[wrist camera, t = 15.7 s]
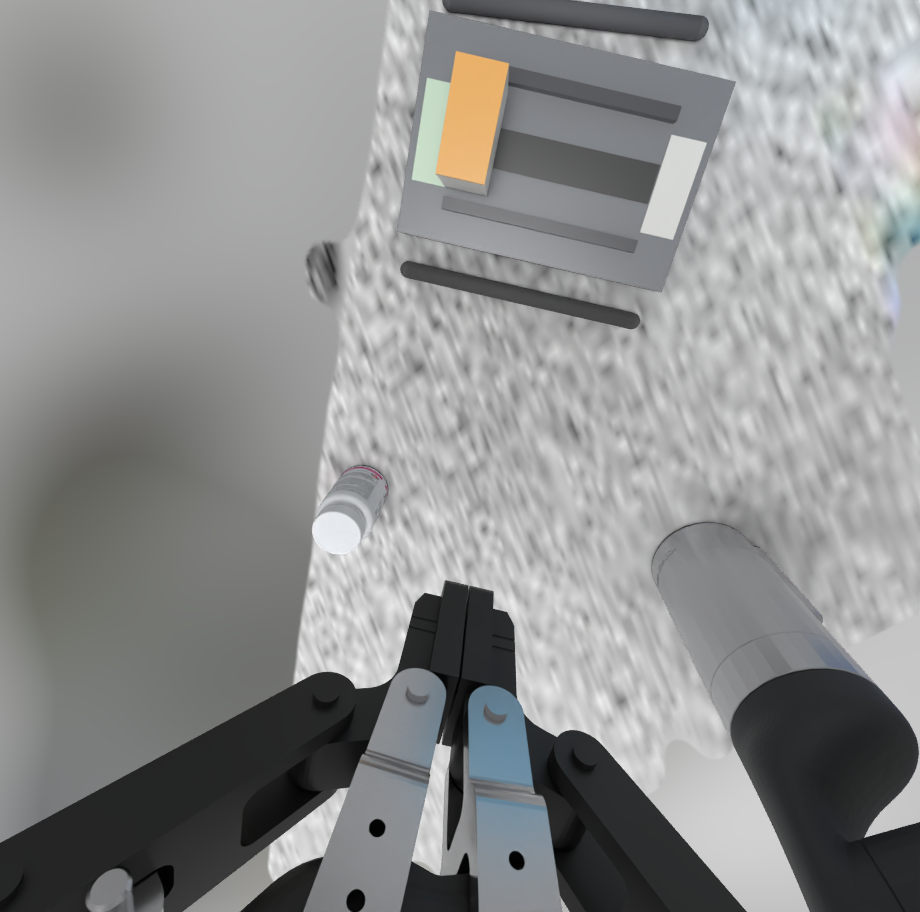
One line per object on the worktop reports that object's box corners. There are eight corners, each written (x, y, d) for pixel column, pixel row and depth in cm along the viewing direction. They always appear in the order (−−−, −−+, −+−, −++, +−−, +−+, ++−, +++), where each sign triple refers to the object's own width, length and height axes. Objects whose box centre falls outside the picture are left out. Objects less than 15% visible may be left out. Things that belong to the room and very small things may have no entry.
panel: (722, 92, 33) (741, 77, 30) (653, 290, 37) (664, 292, 35) (433, 24, 32) (427, 4, 30) (402, 232, 37) (395, 230, 35)
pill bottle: (329, 476, 46) (294, 520, 38) (372, 456, 45) (345, 497, 37) (356, 516, 47) (327, 567, 39) (397, 498, 46) (376, 546, 38)
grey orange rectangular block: (507, 94, 31) (509, 63, 27) (486, 196, 34) (484, 184, 29) (463, 84, 31) (456, 50, 27) (444, 186, 34) (435, 173, 29)
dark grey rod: (639, 314, 38) (643, 315, 37) (634, 329, 39) (638, 331, 38) (403, 260, 38) (400, 259, 37) (400, 275, 39) (398, 276, 37)
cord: (706, 21, 31) (714, 13, 30) (700, 45, 32) (708, 36, 31) (444, -9, 32) (442, -19, 31) (442, 14, 32) (440, 5, 31)
